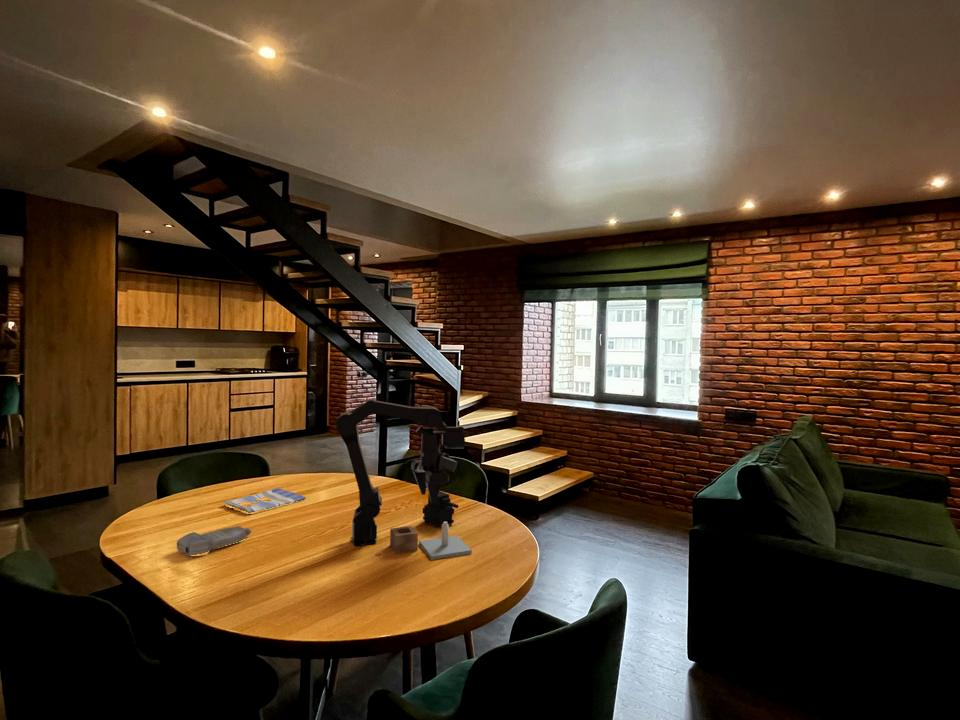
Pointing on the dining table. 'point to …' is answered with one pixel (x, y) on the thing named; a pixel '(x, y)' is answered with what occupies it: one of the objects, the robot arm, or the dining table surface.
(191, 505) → the dining table surface
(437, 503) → the toy
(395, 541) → the hollow square sleeve
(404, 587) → the dining table surface
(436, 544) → the grey peg base
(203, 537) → the handheld device
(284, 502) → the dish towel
